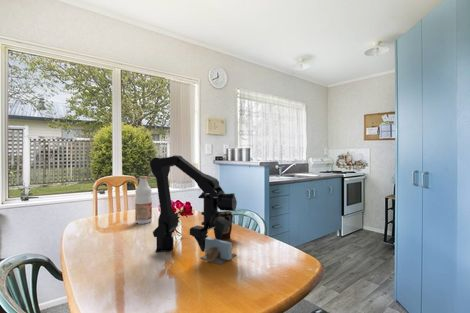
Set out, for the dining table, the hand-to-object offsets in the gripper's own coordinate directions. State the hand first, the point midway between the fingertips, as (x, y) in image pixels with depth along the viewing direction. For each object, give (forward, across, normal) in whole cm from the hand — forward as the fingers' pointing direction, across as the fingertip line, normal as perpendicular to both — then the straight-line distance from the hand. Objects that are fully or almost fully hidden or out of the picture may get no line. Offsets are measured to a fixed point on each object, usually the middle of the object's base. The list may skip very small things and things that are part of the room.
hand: (210, 248), depth 99 cm
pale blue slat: (+2, 0, -4) cm, 4 cm away
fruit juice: (+3, +15, +66) cm, 68 cm away
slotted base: (+3, 0, -4) cm, 5 cm away
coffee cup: (+3, +18, +7) cm, 19 cm away
